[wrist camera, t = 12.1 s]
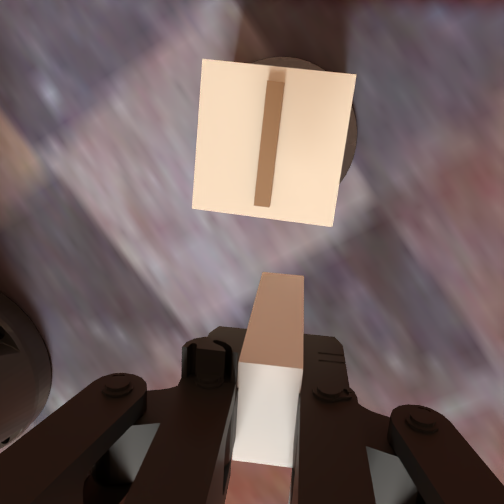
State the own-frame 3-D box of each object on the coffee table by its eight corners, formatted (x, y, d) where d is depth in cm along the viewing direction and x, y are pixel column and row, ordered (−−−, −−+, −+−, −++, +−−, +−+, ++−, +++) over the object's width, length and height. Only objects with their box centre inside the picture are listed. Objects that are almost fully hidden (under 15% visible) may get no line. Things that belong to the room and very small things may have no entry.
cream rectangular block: (220, 186, 33) (189, 210, 25) (230, 72, 31) (199, 57, 23) (328, 200, 32) (332, 229, 24) (346, 84, 30) (357, 73, 22)
